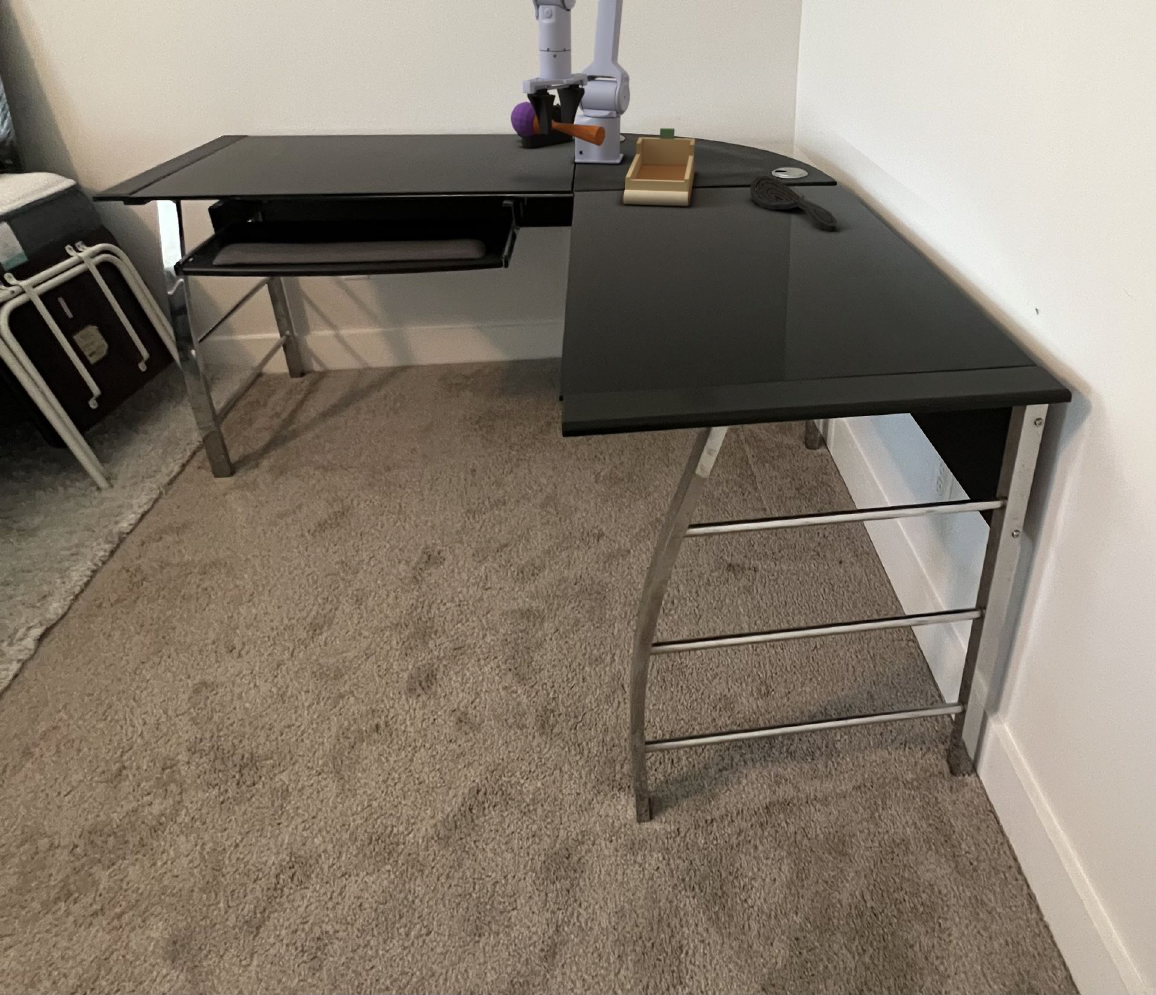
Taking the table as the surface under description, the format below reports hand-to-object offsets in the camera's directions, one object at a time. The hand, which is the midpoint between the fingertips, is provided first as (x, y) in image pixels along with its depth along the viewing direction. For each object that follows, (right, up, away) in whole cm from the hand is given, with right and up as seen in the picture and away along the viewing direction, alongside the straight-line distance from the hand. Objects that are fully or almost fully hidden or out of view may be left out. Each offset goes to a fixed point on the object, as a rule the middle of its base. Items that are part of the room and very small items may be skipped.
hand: (556, 131), depth 158 cm
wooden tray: (+20, -9, +3) cm, 22 cm away
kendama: (0, -1, +1) cm, 2 cm away
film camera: (-5, +14, +39) cm, 42 cm away
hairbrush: (+41, -19, -12) cm, 47 cm away
